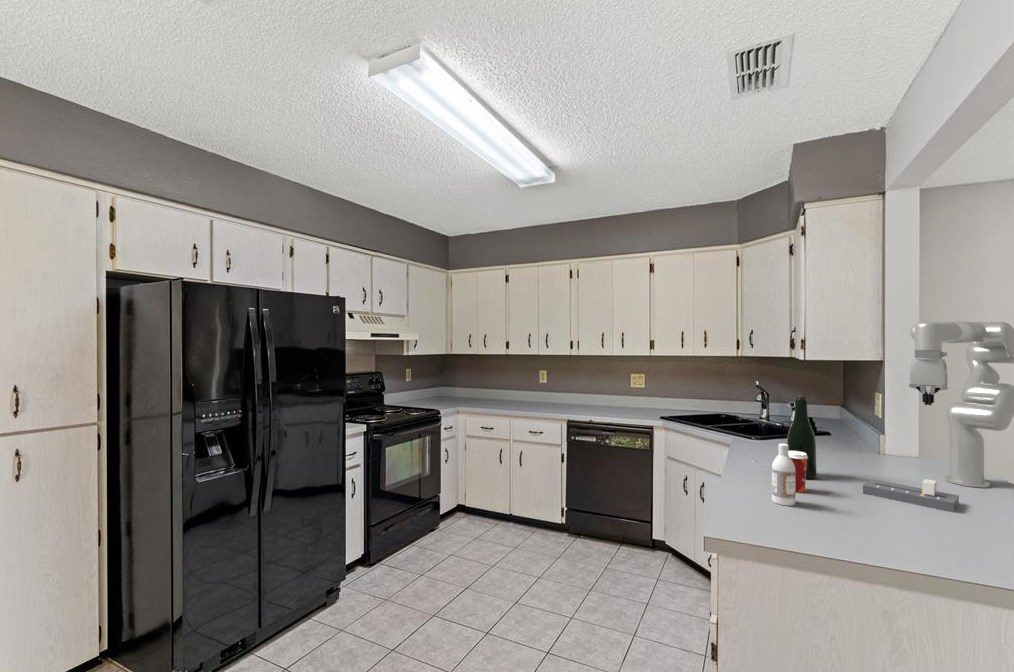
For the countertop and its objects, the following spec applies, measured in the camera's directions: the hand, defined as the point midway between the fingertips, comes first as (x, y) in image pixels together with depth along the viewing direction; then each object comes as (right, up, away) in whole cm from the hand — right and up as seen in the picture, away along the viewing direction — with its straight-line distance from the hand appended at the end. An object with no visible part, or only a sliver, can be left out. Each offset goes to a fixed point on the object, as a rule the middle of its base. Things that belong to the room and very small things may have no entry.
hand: (928, 404), depth 171 cm
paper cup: (-49, -32, 0) cm, 59 cm away
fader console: (-14, -32, -8) cm, 36 cm away
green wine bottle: (-35, -32, +18) cm, 51 cm away
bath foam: (-61, -32, -13) cm, 70 cm away
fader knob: (-11, -29, -12) cm, 33 cm away
